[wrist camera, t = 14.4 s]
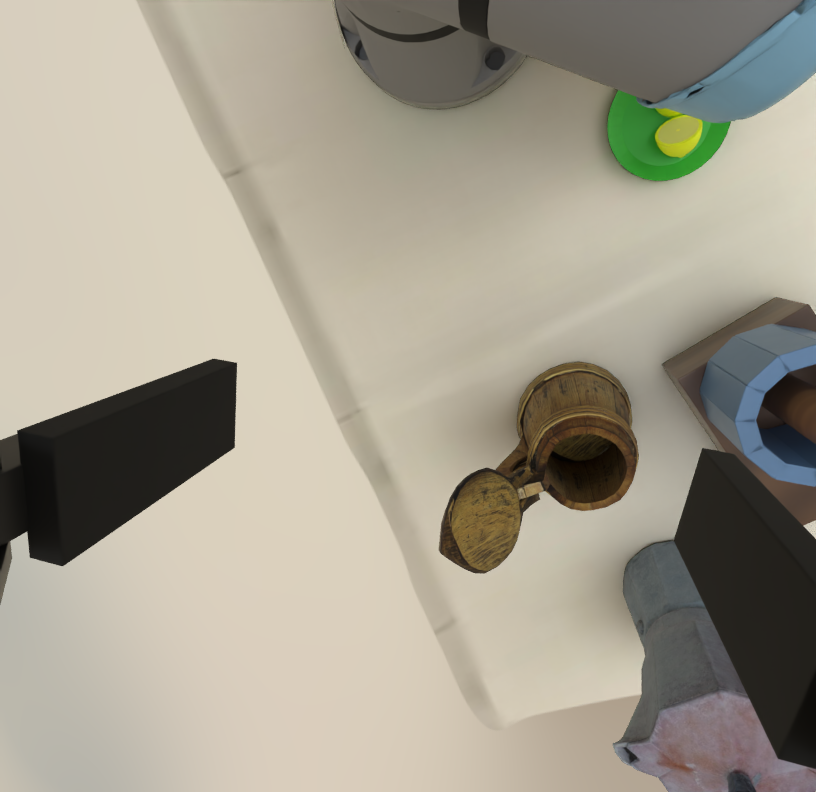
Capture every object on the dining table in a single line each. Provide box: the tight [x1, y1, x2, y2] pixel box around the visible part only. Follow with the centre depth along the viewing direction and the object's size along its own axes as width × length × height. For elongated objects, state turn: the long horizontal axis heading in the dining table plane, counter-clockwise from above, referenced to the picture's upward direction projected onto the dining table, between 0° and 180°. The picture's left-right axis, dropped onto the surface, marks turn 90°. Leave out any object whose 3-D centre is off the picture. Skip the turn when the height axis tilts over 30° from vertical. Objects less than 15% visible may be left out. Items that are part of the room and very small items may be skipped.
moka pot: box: [613, 541, 816, 792], centre depth 38 cm, size 10×15×20 cm, turn 109°
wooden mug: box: [439, 362, 639, 573], centre depth 37 cm, size 9×14×18 cm, turn 110°
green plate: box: [607, 90, 731, 181], centre depth 37 cm, size 8×8×3 cm
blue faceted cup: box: [700, 324, 816, 487], centre depth 33 cm, size 8×8×7 cm
